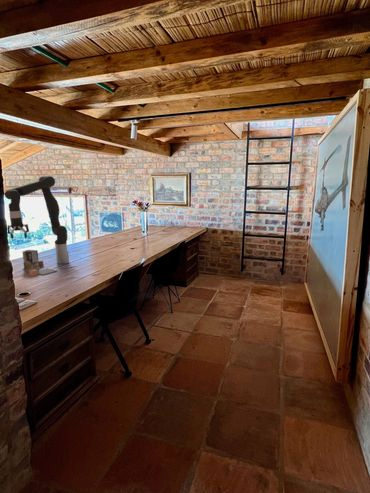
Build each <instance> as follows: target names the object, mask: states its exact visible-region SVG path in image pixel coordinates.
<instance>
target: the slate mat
mask: <svg viewBox="0 0 370 493" xmlns="http://www.w3.org/2000/svg"><path fill="white" fill-rule="evenodd" d="M57 272H58V270H55V269H52V268H44V269H43V268H42V269H39V270H37V273H38V275H40V276H46V275H51V274H53V273H57Z"/></svg>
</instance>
